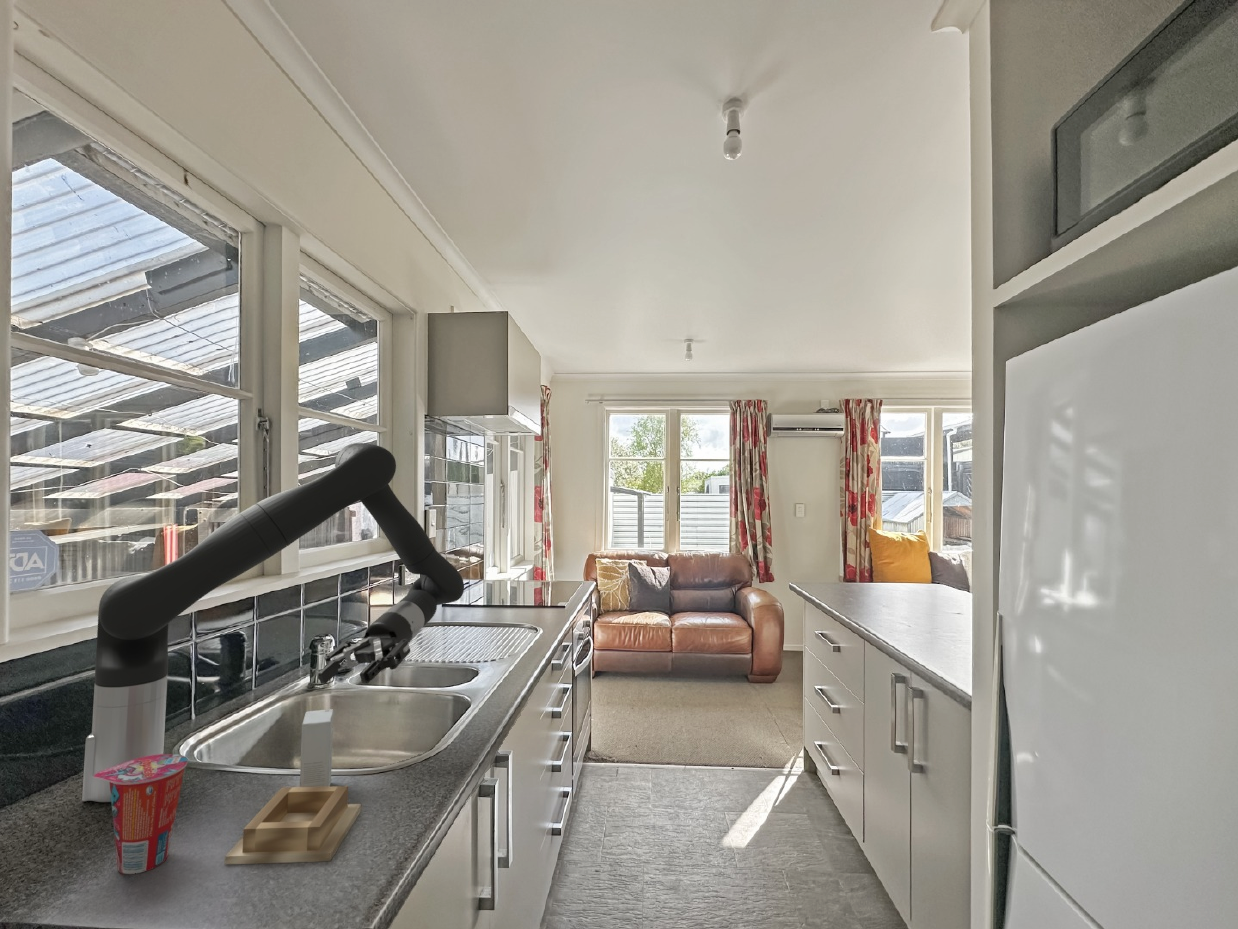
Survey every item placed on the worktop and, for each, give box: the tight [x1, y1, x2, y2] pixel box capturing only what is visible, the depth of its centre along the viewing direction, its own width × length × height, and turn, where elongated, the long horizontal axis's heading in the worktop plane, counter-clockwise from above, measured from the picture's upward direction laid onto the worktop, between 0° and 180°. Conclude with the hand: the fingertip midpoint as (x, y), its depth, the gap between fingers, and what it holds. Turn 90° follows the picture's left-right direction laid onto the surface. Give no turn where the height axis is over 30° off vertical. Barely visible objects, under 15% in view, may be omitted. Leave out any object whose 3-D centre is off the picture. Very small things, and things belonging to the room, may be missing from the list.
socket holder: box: [224, 785, 362, 865], centre depth 88 cm, size 13×13×4 cm
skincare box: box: [299, 708, 334, 787], centre depth 101 cm, size 6×4×12 cm
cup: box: [93, 753, 189, 875], centre depth 81 cm, size 9×8×12 cm
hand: (341, 679), depth 107 cm, fingers open, 8 cm apart
